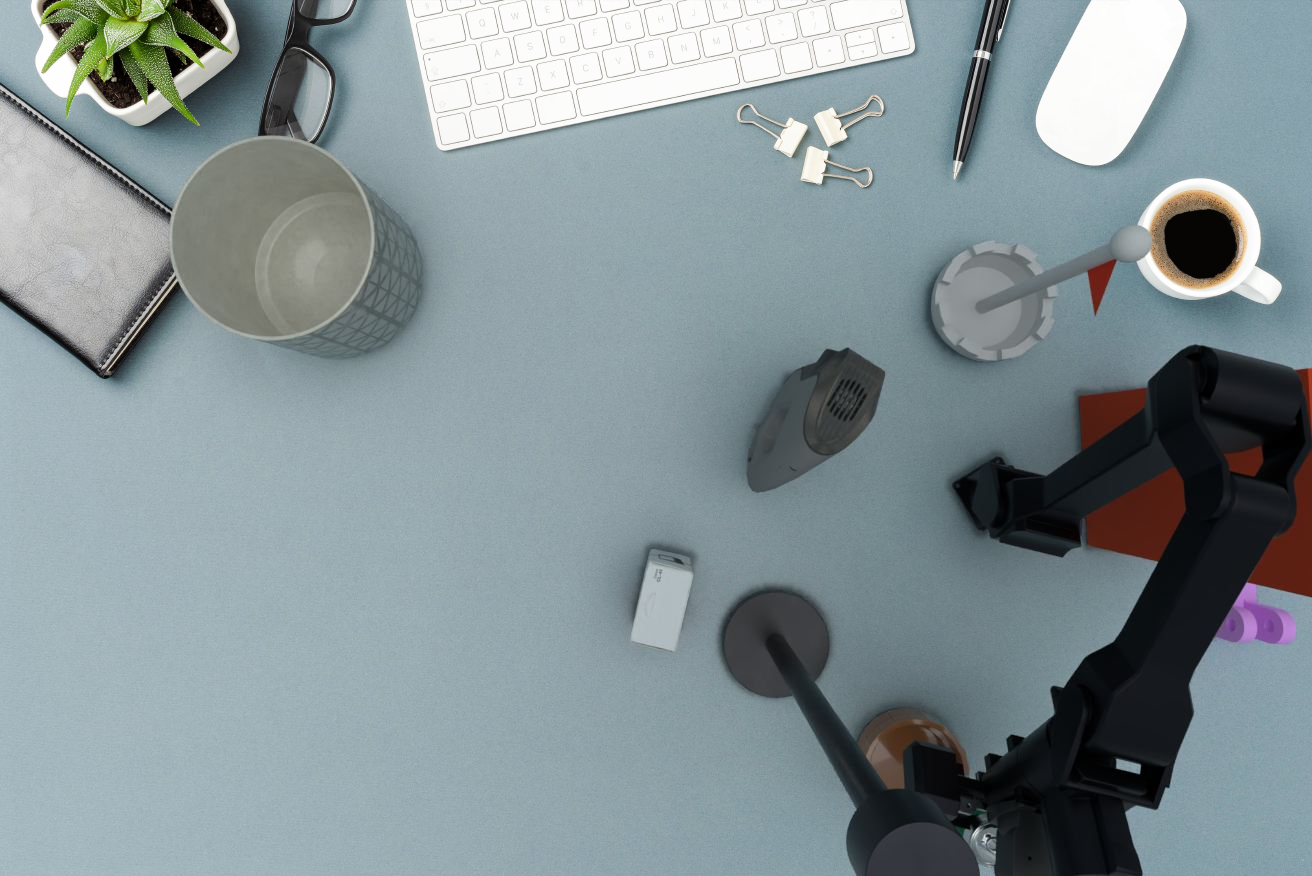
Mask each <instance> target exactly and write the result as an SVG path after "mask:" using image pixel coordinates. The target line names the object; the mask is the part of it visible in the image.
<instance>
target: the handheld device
mask: <svg viewBox="0 0 1312 876" xmlns="http://www.w3.org/2000/svg"><path fill="white" fill-rule="evenodd" d="M885 377H886V371H885V370H884V369H883V368H881V367H879V366H877V365H876V364H874V363H873V362H871V361H870V360H868V359H867V358H865V357H864V356H862V355H861V354H859V353H857V352H856V351H855V350H853V349H852V348H850V347H848V346H847V347H845V348H843V349H841V350H836V349H832V348H826V349H825V350H824V351H823V352H822V353H821V355H820V356H819V358H818V359H817V360H816V361H815V362H812V363H810V364H806V365H803V366H801V367H799V368H797V369H796V370H794V371H793V372H792V373H791V374H790V376H789V377H788V378H787V379H786V380H785V382H784V383H783V385H782V386H781V388H780V389H779V391H778V392H777V394H776V396H775V397H774V399H773V401H772V402H771V404H770V406H769V407H768V409H767V411H766V413H765V415H764V417H763V419H762V421H761V423H760V425H759V426H758V429H757V430H756V433H755V435H754V437H753V439H752V442H751V443H750V447H749V450H748V456H747V467H746V477H747V485H748V487H749V488H750V490H751V491H752V492H753V493H765V492H768V491H771V490H775V489H777V488H780V487H781V486H784V485H786V484H788V483H790V482H792V481H795V480H796V479H798V478H800V477H801V476H803V475H805V474H806V473H808V472H809V471H811V470H813V469H815V468H816V467H818V466H819V465H821V464H823V463H824V462H826V461H828V460H829V459H830V458H833V457H834V456H836V455H837V454H839V453H840V452H842V451H843V450H845V449H846V448H848V447H849V446H850V445H851V444H852V443H854V442H855V441H856V440H857V439H858V438H859V437H860V436H861V434H863V432H864V431H865V430H866V429H867V427H869V425H870V423H871V422H872V420H873V419H874V417H875V415H876V412H877V408H878V405H879V400H880V397H881V394H882V389H883V386H884V383H885V382H884V381H885Z"/></svg>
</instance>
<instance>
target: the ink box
mask: <svg viewBox="0 0 1312 876" xmlns="http://www.w3.org/2000/svg"><path fill="white" fill-rule="evenodd" d="M693 571H694V570H693V567H692V562H691V558H690V556H687V555H684V554H680V553H675V552H672V551H671V552H670V551H667V550H661V549H657V548H651V549H650V550H649V554H648V558H647V561H646V566H645V569H644V573H643V577H642V583H641V585H640V591H639V596H638V600H637V605H636V608H635V612H634V613H635V614H634V619H633V624H632V628H631V633H630V638H629V639H630V640H629V641H630V642H629V643H630V644H634V645H638V646H641V647H646V648H650V649H654V650H659V651H663V652H669V653H676V651H677V647H678V643H679V640H680V635H681V631H682V627H683V622H684V617H685V614H686V611H687V610H686V609H687V605H688V601H689V596H690V594H691V593H690V592H691V589H692V588H691V587H692V585H693V584H692V583H693V579H694V572H693Z"/></svg>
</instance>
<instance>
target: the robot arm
mask: <svg viewBox="0 0 1312 876" xmlns="http://www.w3.org/2000/svg"><path fill="white" fill-rule="evenodd" d="M1295 370H1296V369H1294V368H1293V367H1291V366H1289V365H1285V364H1281V363H1277V362H1273V361H1270V360H1265V359H1261V358H1258V357H1253V356H1249V355H1244V354H1240V353H1236V352H1232V351H1228V350H1224V349H1219V348H1215V347H1212V346H1207V345H1204V344H1196V343H1195V344H1190V345H1187V346H1186V347H1184V348H1182V349H1180V350H1179V351H1178V352H1177V353H1175V355H1173V356H1172V357H1171V358H1170V359H1169V360H1168V361H1167V362H1166V363H1165V364H1163V366H1162V367H1160V368H1159V370H1158V371H1157V372H1155V374H1153V375H1152V377H1150V379H1148V381H1147V386H1146V388H1147V392H1146V400H1145V406H1144V408H1143V409H1142V410H1140V411H1139V412H1138V413H1136V414H1135V415H1134V416H1132V417H1131V418H1129V419H1128V420H1126V421H1125V422H1123V423H1122V424H1121V425H1119V426H1118V427H1116V428H1115V429H1113V430H1112V431H1110V432H1109V433H1108V434H1106V435H1105V436H1103V437H1102V438H1100V439H1099V440H1097V441H1096V442H1095V443H1093V444H1092V445H1090V446H1089V447H1087V448H1086V449H1084V450H1083V451H1082V450H1081V451H1080V452H1079V453H1077V454H1075V455H1074V456H1073V457H1071V458H1069V459H1068V460H1067V461H1066V462H1064V463H1063V464H1061V465H1060V466H1059V467H1057V468H1055V469H1054V470H1053V471H1051V472H1049V473H1048V474H1046V475H1045V474H1041V473H1036V472H1032V471H1028V470H1024V469H1020V468H1016V467H1015V466H1014V465H1013V464H1006V462H1005V459H1003V458H1002V457H1001V456H994V457H993V458H992V459H991V458H990V460H988V461H987V462H985V463H983V464H981V465H980V466H978V467H977V468H974V469H973V470H972V471H969V472H968V473H966V474H965V475H963V476H962V477H959V478H958V479H956V480H955V481H953V482H952V484H951V487H952V489H953V491H954V492H955V494H956V496H957V497H958V499H959V501H960V503H961V504H962V505H963V508H964V509H965V510H966V512H967V514H968V515H969V517H970V519H971V521H972V523H973V524H974V526H975V527H976V529H977V530H978V531H979V532H984V531H988V536H989V538H990V539H991V540H995V541H998V543H1000V544H1002V545H1003V544H1004V545H1008V546H1011V547H1016V548H1019V549H1024V550H1028V551H1032V552H1035V553H1041V554H1045V555H1048V556H1053V557H1056V558H1064V557H1065V556H1066V554H1067V553H1069V552H1070V551H1071V550H1074V549H1079V548H1082V539H1081V537H1083V520H1084V519H1085V518H1086V516H1087V515H1089V514H1091V513H1093V512H1094V511H1096V510H1098V509H1100V508H1101V507H1103V506H1105V505H1107V504H1109V503H1110V502H1112V501H1114V500H1116V499H1117V498H1119V497H1121V496H1123V495H1125V494H1126V493H1128V492H1130V491H1132V490H1133V489H1135V488H1137V487H1139V486H1141V485H1142V484H1144V483H1146V482H1148V481H1149V480H1151V479H1153V478H1155V477H1157V476H1158V475H1160V474H1162V473H1164V472H1165V471H1167V470H1169V469H1171V468H1173V467H1174V466H1175V468H1176V469H1177V471H1178V473H1179V474H1180V476H1181V478H1182V479H1183V484H1184V499H1185V507H1186V511H1185V513H1184V514H1183V516H1182V518H1181V520H1180V522H1179V524H1178V526H1177V528H1176V529H1175V531H1174V533H1173V535H1172V537H1171V539H1170V541H1169V542H1168V544H1167V546H1166V548H1165V550H1164V552H1163V554H1162V556H1161V557H1160V559H1159V561H1158V562H1156V565H1155V567H1154V569H1153V571H1152V572H1151V574H1150V576H1149V578H1148V580H1147V582H1146V583H1145V586H1144V588H1143V589H1142V591H1141V593H1140V595H1139V597H1138V599H1137V600H1136V603H1134V606H1133V608H1132V610H1131V612H1130V614H1129V616H1128V617H1127V619H1126V620H1125V622H1124V625H1123V627H1122V628H1121V630H1120V631H1119V633H1118V635H1116V637H1115V638H1114V640H1113V641H1112V642H1110V643H1108V644H1106V645H1104V646H1102V647H1101V648H1099V649H1097V650H1095V651H1093V652H1091V653H1089V654H1087V655H1085V657H1084V658H1083V659H1082V660H1081V661H1080V663H1079V665H1078V666H1077V668H1076V669H1075V670H1074V672H1073V673H1072V674H1071V676H1070V677H1069V679H1068V680H1067V682H1066V683H1065V685H1064V686H1063V687H1062V686H1058V685H1052V686H1051V687H1050V688H1049V689H1050V690H1049V692H1050V696H1051V702H1052V706H1053V715H1052V716H1050V717H1049V718H1048V719H1047V720H1046V721H1044V722H1043V723H1042V724H1040V725H1039V726H1038V727H1037V728H1036V729H1034V730H1033V731H1032V732H1030V733H1029V734H1028V735H1027V736H1026V737H1025V736H1021V735H1017V734H1013V733H1011V734H1010V735H1009V736H1008V737H1005V741H1006V747H1007V752H1006V753H1005V754H1003V755H1001V754H996V753H994V752H993V753H992V752H988V753H987V754H986V755H985V756H983V757H984V758H983V759H984V766H985V771H981V770H978V771H976V772H975V774H974V775H975V778H971V777H969V778H968V777H965V774H964V765H963V764H961V763H957V761H956V753H955V752H954V751H953V750H952V749H951V748H948V747H944V746H940V745H936V744H932V743H928V742H924V741H920V740H914V741H913V742H912V743H911V744H910V745H909V746H908V747H907V748H906V749H905V750H904V751H903V770H904V787H905V789H909V790H913V791H916V792H919V793H921V794H923V795H925V796H926V797H928V798H929V799H931V800H932V801H933V802H934V803H935V804H936V805H937V806H938V807H939V808H940V809H941V810H942V812H943V813H944V814H945V815H946V817H947V818H948V819H949V821H950V822H951V823H952V824H953V826H955V827H959V828H963V829H967V830H971V827H970V818H969V815H972V814H974V813H975V811H976V810H980V811H984V812H987V820H988V823H989V824H994V825H998V829H997V832H996V861H995V864H994V868H993V874H994V876H1143V875H1144V872H1143V868H1142V865H1141V860H1140V857H1139V854H1138V852H1137V849H1136V847H1135V845H1134V841H1133V837H1132V834H1131V833H1132V832H1131V830H1130V825H1129V821H1128V818H1127V817H1128V816H1127V813H1126V812H1128V811H1129V810H1131V809H1133V808H1134V807H1139V808H1140V807H1141V808H1145V809H1149V810H1153V811H1158V810H1159V807H1160V804H1161V802H1162V799H1163V796H1164V793H1165V791H1166V789H1170V787H1171V782H1172V778H1173V773H1174V767H1175V764H1176V760H1177V758H1178V755H1179V752H1180V750H1181V747H1182V745H1183V743H1184V740H1185V737H1186V735H1187V733H1188V731H1189V728H1190V725H1191V723H1192V721H1193V719H1194V715H1195V709H1194V702H1193V697H1192V693H1191V692H1192V691H1191V687H1190V684H1191V681H1192V680H1193V677H1194V674H1195V672H1196V670H1197V668H1198V666H1199V664H1200V663H1201V661H1202V659H1203V658H1204V656H1205V654H1206V653H1207V651H1208V649H1209V647H1210V646H1211V644H1212V642H1213V640H1214V639H1215V638H1216V637H1215V636H1216V634H1217V632H1218V630H1219V629H1220V627H1221V625H1222V624H1223V622H1224V620H1225V619H1226V617H1227V615H1228V614H1229V612H1230V610H1231V609H1232V607H1233V605H1234V603H1235V602H1236V600H1237V598H1238V597H1239V595H1240V593H1241V592H1242V590H1243V588H1244V587H1245V585H1246V583H1247V581H1248V580H1249V578H1250V576H1251V575H1252V573H1253V571H1254V570H1255V568H1256V566H1257V565H1258V563H1259V561H1260V559H1261V558H1262V556H1263V554H1264V553H1265V551H1266V549H1267V548H1268V546H1269V544H1270V543H1271V541H1272V539H1273V538H1276V537H1279V536H1281V535H1283V534H1284V533H1286V532H1287V531H1288V529H1289V528H1290V527H1291V526H1292V525H1293V522H1294V520H1295V517H1296V515H1297V500H1296V493H1295V485H1294V479H1295V477H1296V475H1297V474H1298V472H1299V470H1300V468H1301V467H1302V465H1303V463H1304V461H1305V460H1306V458H1307V456H1308V454H1309V453H1310V451H1311V449H1312V434H1311V427H1310V420H1309V414H1308V407H1307V400H1306V395H1305V393H1304V390H1303V384H1302V381H1301V378H1300V376H1299V374H1298V373H1297V372H1296V371H1295ZM1259 446H1262V455H1263V463H1262V465H1261V466H1260V468H1259V470H1258V471H1257V473H1256V475H1255V476H1254V477H1253V476H1249V475H1245V474H1241V473H1237V472H1233V471H1230V468H1229V463H1228V460H1227V458H1226V457H1225V455H1224V454H1229V453H1240V452H1243V451H1247V450H1250V449H1253V448H1256V447H1259ZM998 461H999V462H998ZM957 484H958V486H957ZM981 526H982V528H981ZM1118 760H1119V761H1124V762H1128V763H1132V764H1136V765H1140V769H1139V773H1138V772H1133V771H1129V770H1126V769H1121V768H1118V767H1117V764H1118V762H1117V761H1118Z"/></svg>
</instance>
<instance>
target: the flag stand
mask: <svg viewBox="0 0 1312 876" xmlns="http://www.w3.org/2000/svg"><path fill="white" fill-rule="evenodd" d="M1152 246H1153V236H1152V234H1151V232H1150V231H1149V230H1148V229H1147V228H1145V227H1144V226H1142V225H1138V224H1128V225H1124V226H1122V227H1121V228H1119V229H1117V230H1116V231H1115V232H1114V233H1113V235H1112V236H1111V237H1110V239H1109V242H1108V243H1105V244H1103V245H1101V246H1099V247H1097V248H1094V249H1092V250H1090V251H1088V252H1086V253H1084V254H1081V255H1079V256H1077V257H1074V258H1073V259H1069V260H1068V261H1065V262H1063V263H1061V264H1059V265H1057V266H1054V267H1051V268H1049V269H1048V270H1045V271H1044V269H1043V267H1042V266H1041V265H1040V264H1039V263H1038V261H1037V260H1036V258H1037V257H1039V254H1037V253H1036V252H1035V251H1033V250H1032V249H1030V248H1029V247H1027V246H1024V245H1022V244H1020V243H1016V244H1014V245H1010V244H1005V243H1003V242H1002V243H1001V242H996V240H995V239H994V240H987V241H982V242H979V243H976V244H974V245H971V246H969V247H968V248H966V249H965V250H964V251H962V252H960V253H959V254H957V255H955V256H954V257H953V258H952V259H950V261H948V262H947V263H946V264H945V265H944V267H943V268H942V269H941V271H940V272H939V274H938V275H937V278H936V279H935V281H934V284H933V289H932V293H931V301H930V314H931V321H932V324H933V326H934V329H935V331H936V332H937V334H938V335H939V337H940V338H941V340H942V341H943V342H944V343H945V344H946V345H947V346H949V347H950V348H951V349H952V350H954V351H955V352H956V353H958V354H960V355H962V356H964V357H966V358H968V359H971V360H974V361H979V362H991V363H993V362H1000V361H1006V360H1011V359H1014V358H1016V357H1017V358H1018V357H1019V356H1023V355H1026V353H1025V352H1027V351H1029V350H1030V349H1032V347H1034V345H1036V344H1037V343H1038V342H1040V341H1044V339H1045V338H1046V337H1047V336H1048V334H1049V333H1050V331H1052V327H1053V325H1054V323H1055V321H1056V319H1055V318H1052V313H1053V308H1054V307H1053V305H1054V303H1053V302H1054V299H1055V298H1058V297H1059V291H1058V286H1057V285H1058V284H1060V283H1063V282H1065V281H1068V280H1070V279H1072V278H1075V277H1077V276H1080V275H1083V274H1085V273H1087V279H1088V284H1089V290H1090V296H1091V303H1092V308H1093V314H1094V315H1093V316H1094V317H1096V315H1097V314H1098V311H1099V308H1100V305H1101V303H1102V300H1103V298H1104V295H1105V292H1106V290H1107V287H1108V285H1109V282H1110V279H1111V277H1112V274H1113V271H1114V269H1115V266H1116V265H1117V262H1120V263H1124V264H1131V263H1132V264H1133V263H1136V262H1138V261H1140V260H1142V259H1144V258H1145V257H1146V256H1147V255H1148V254H1149V253H1150V251H1151V250H1152Z"/></svg>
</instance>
